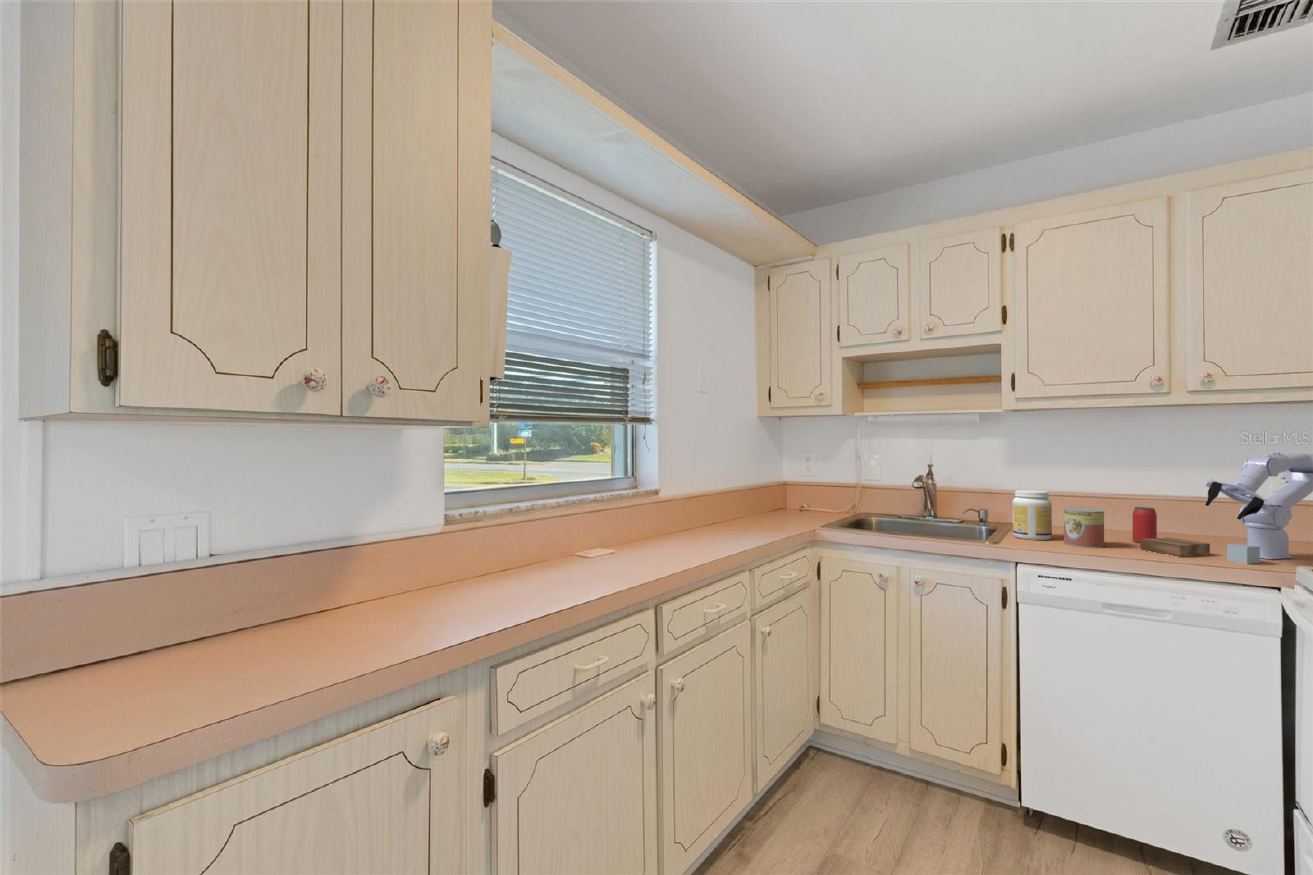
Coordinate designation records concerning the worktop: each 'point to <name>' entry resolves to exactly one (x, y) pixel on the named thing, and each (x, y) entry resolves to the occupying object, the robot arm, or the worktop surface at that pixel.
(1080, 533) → the canned food
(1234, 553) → the slate cube
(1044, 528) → the supplement tub
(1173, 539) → the walnut block
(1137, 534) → the beer can
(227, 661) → the worktop surface
